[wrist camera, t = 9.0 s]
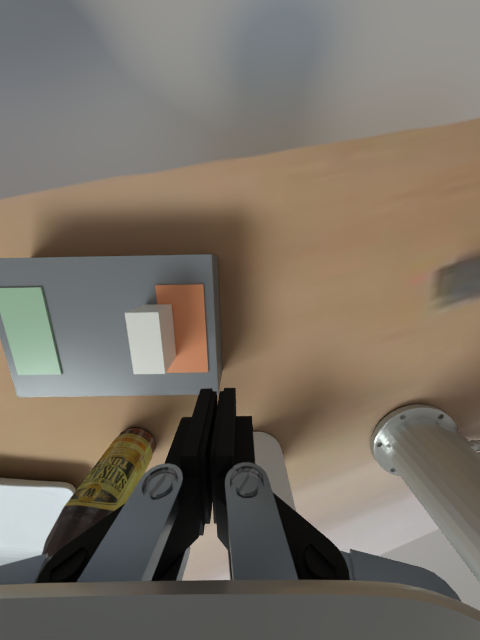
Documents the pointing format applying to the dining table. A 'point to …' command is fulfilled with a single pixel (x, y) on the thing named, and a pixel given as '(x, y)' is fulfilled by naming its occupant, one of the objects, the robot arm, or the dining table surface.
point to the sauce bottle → (103, 487)
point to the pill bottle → (273, 465)
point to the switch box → (107, 323)
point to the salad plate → (28, 515)
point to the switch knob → (151, 338)
